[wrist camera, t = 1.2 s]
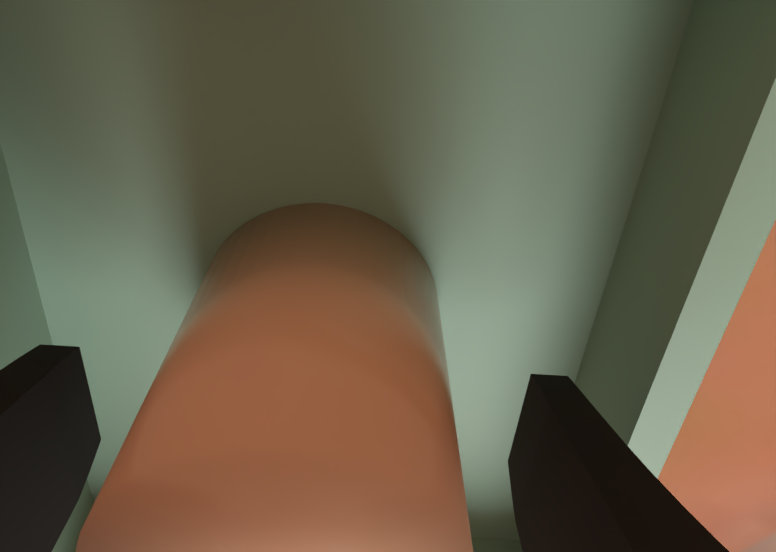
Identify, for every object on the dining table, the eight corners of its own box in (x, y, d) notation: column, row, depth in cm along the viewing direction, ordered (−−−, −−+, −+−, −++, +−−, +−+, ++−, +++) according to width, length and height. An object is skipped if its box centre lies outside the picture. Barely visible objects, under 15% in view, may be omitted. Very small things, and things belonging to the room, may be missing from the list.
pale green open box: (543, 540, 17) (573, 662, 15) (82, 519, 17) (22, 642, 14) (766, -121, 9) (936, -132, 6) (-121, -208, 9) (-367, -265, 6)
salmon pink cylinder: (424, 402, 14) (448, 691, 9) (212, 390, 14) (110, 681, 9) (452, 212, 11) (508, 461, 6) (194, 193, 11) (34, 437, 6)
